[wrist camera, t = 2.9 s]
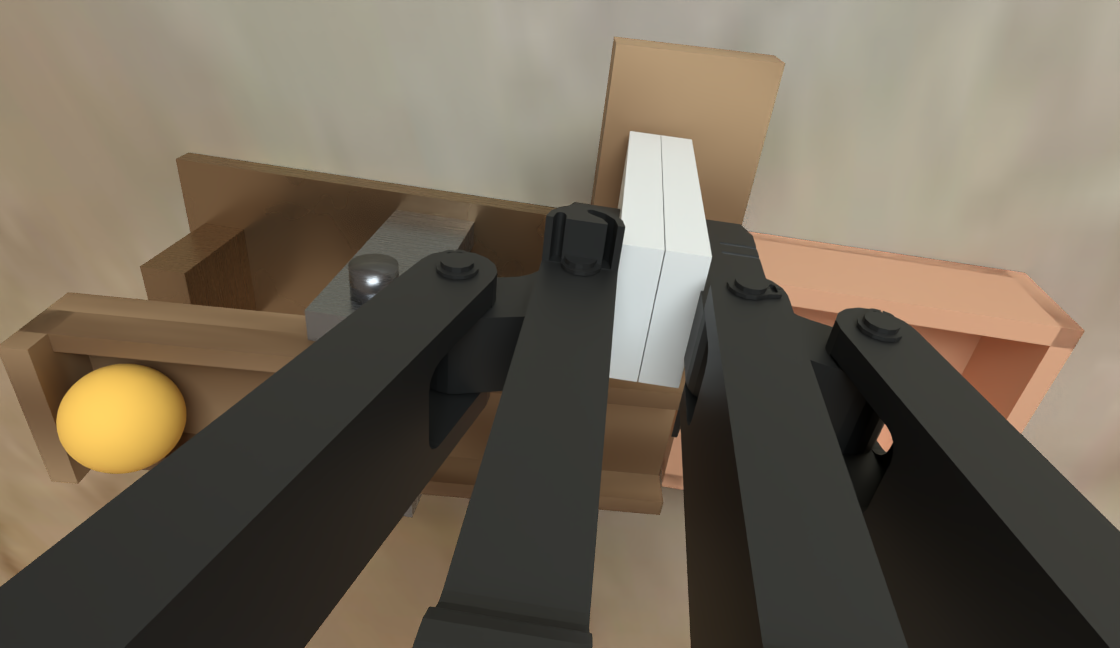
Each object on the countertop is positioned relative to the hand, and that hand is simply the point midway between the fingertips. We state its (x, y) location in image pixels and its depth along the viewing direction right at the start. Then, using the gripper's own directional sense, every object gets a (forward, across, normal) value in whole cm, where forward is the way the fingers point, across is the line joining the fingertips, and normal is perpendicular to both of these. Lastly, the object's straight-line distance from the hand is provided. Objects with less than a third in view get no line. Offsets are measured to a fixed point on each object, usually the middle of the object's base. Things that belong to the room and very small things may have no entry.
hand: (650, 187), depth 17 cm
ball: (-3, +14, +8) cm, 17 cm away
